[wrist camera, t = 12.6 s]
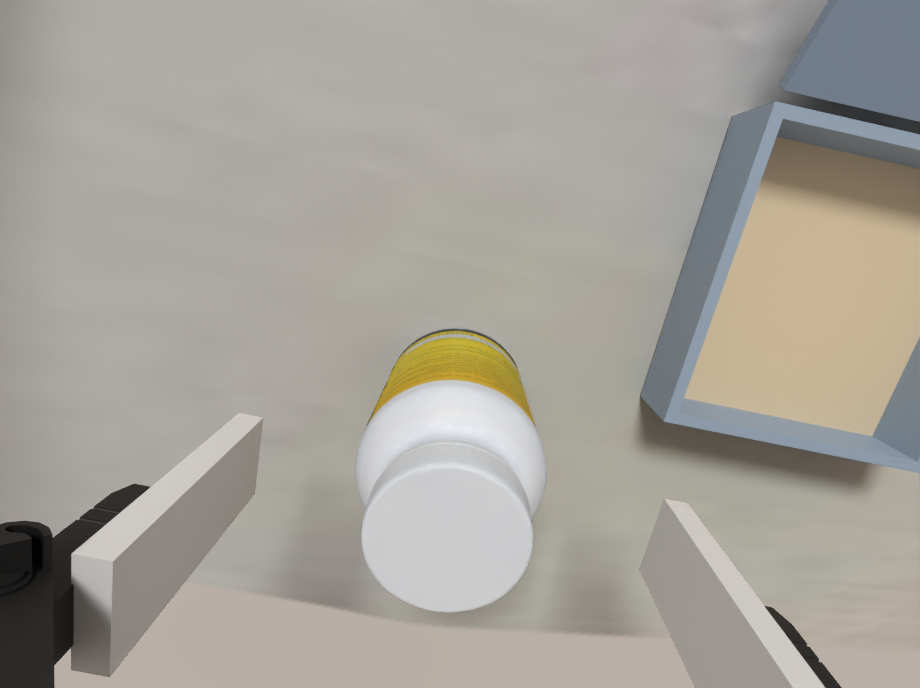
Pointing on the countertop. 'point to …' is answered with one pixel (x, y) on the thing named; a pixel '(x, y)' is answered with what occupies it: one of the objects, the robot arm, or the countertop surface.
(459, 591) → the pill bottle
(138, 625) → the robot arm
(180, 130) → the countertop surface
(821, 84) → the lid
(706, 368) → the box
